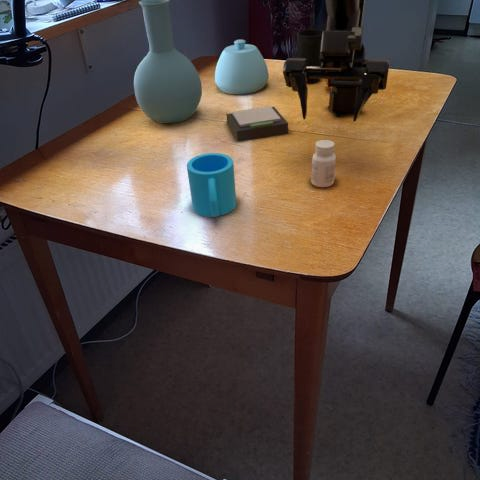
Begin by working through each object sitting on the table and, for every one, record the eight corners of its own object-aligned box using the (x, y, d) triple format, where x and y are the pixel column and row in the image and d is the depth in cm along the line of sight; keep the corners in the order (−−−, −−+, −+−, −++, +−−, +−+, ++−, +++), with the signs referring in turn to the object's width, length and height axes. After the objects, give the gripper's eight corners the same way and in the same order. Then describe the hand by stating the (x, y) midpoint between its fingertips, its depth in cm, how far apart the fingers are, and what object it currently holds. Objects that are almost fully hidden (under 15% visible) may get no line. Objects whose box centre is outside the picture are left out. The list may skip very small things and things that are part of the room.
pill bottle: (336, 178, 94) (339, 139, 89) (331, 189, 91) (334, 149, 86) (313, 176, 95) (315, 137, 90) (308, 186, 92) (310, 147, 87)
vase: (148, 134, 115) (125, 12, 98) (133, 111, 126) (110, -1, 109) (213, 120, 119) (201, 1, 102) (193, 99, 130) (179, -11, 113)
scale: (274, 116, 118) (274, 103, 116) (288, 133, 111) (288, 120, 109) (226, 123, 117) (225, 111, 115) (237, 141, 109) (236, 128, 107)
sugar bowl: (236, 75, 143) (233, 31, 135) (278, 82, 136) (278, 36, 128) (205, 91, 135) (200, 44, 127) (248, 99, 128) (246, 51, 120)
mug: (192, 196, 92) (186, 155, 87) (234, 192, 92) (231, 151, 87) (192, 230, 83) (186, 187, 78) (239, 225, 84) (236, 182, 78)
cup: (322, 85, 133) (324, 36, 124) (294, 84, 134) (295, 36, 126) (324, 75, 138) (326, 28, 130) (297, 75, 139) (298, 28, 131)
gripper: (285, 7, 83) (272, 96, 83) (397, 5, 78) (384, 100, 78) (292, 45, 94) (281, 124, 93) (391, 46, 89) (380, 129, 89)
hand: (328, 119), depth 88 cm, fingers open, 9 cm apart
